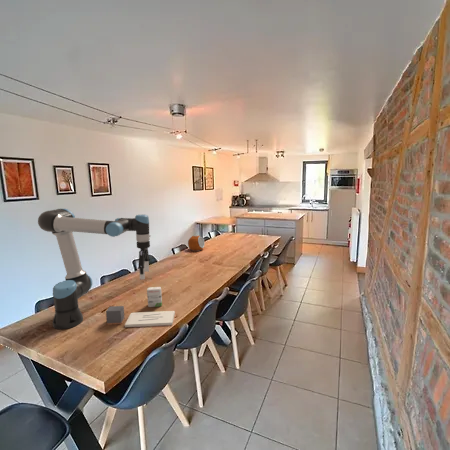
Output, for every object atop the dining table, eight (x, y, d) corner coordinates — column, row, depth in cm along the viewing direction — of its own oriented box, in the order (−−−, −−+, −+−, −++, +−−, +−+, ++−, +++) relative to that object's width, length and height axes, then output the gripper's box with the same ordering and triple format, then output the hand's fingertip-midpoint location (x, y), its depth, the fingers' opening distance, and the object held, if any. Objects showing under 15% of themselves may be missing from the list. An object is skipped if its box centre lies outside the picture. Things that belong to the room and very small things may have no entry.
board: (124, 327, 153) (124, 324, 153) (131, 314, 167) (131, 312, 167) (172, 325, 155) (172, 322, 155) (174, 313, 169) (174, 310, 168)
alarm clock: (199, 252, 309) (199, 237, 306) (185, 251, 315) (185, 236, 312) (206, 248, 326) (206, 234, 324) (193, 247, 333) (193, 233, 330)
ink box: (162, 303, 182) (161, 286, 180) (161, 306, 177) (160, 289, 176) (149, 303, 182) (148, 286, 180) (147, 307, 177) (146, 289, 175)
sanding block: (107, 324, 156) (106, 311, 155) (110, 319, 162) (109, 306, 161) (121, 323, 157) (120, 310, 156) (124, 318, 163) (123, 305, 161)
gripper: (145, 245, 151) (147, 282, 155) (153, 236, 176) (154, 268, 179) (131, 245, 151) (133, 282, 154) (141, 236, 175) (142, 268, 179)
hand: (144, 275), depth 167 cm, fingers open, 13 cm apart
